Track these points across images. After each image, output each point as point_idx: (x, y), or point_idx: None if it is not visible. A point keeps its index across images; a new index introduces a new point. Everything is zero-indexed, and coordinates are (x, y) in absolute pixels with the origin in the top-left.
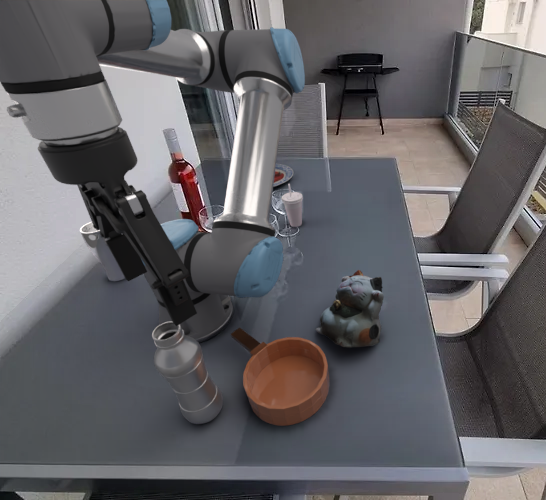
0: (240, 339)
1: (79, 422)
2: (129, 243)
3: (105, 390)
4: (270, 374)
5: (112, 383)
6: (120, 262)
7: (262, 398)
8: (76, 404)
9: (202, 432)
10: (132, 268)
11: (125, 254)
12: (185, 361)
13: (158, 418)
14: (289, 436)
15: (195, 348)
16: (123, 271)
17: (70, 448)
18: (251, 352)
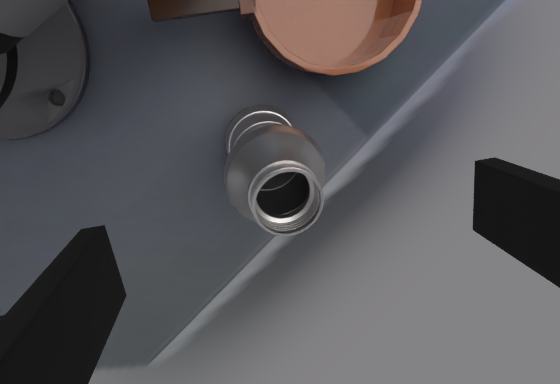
0: (186, 10)
1: (140, 292)
2: (35, 346)
3: None
4: (275, 4)
5: None
6: (93, 353)
7: (310, 48)
8: None
9: None
10: (102, 290)
11: (73, 345)
12: (324, 174)
13: (217, 200)
14: (396, 51)
15: (306, 143)
16: (111, 325)
17: (179, 304)
18: (245, 11)
